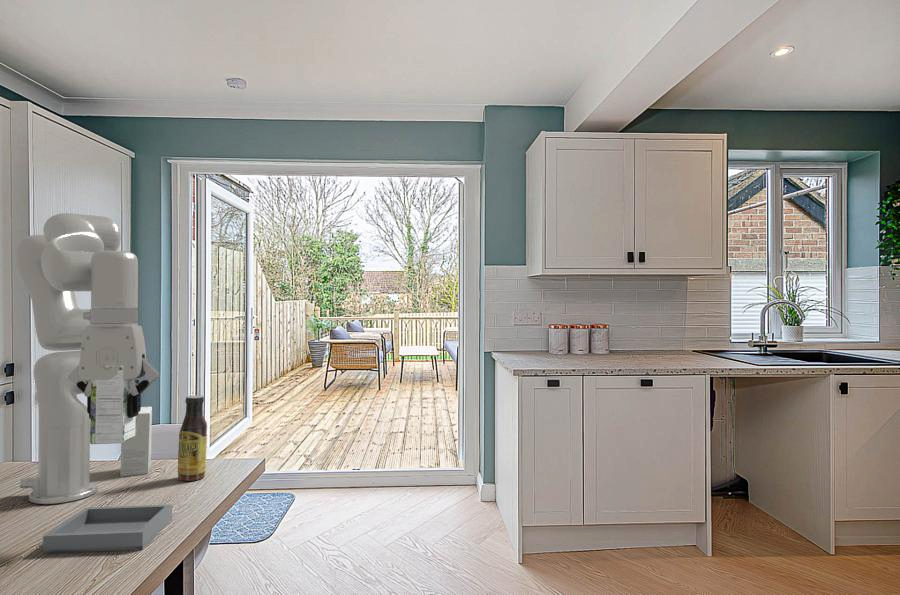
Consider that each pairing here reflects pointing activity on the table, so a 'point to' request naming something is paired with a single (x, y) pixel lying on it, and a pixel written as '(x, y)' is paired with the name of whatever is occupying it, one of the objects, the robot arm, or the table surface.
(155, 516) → the tray
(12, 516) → the table surface
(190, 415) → the sauce bottle
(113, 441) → the syrup box
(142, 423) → the skincare box
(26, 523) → the table surface
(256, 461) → the table surface
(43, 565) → the table surface
